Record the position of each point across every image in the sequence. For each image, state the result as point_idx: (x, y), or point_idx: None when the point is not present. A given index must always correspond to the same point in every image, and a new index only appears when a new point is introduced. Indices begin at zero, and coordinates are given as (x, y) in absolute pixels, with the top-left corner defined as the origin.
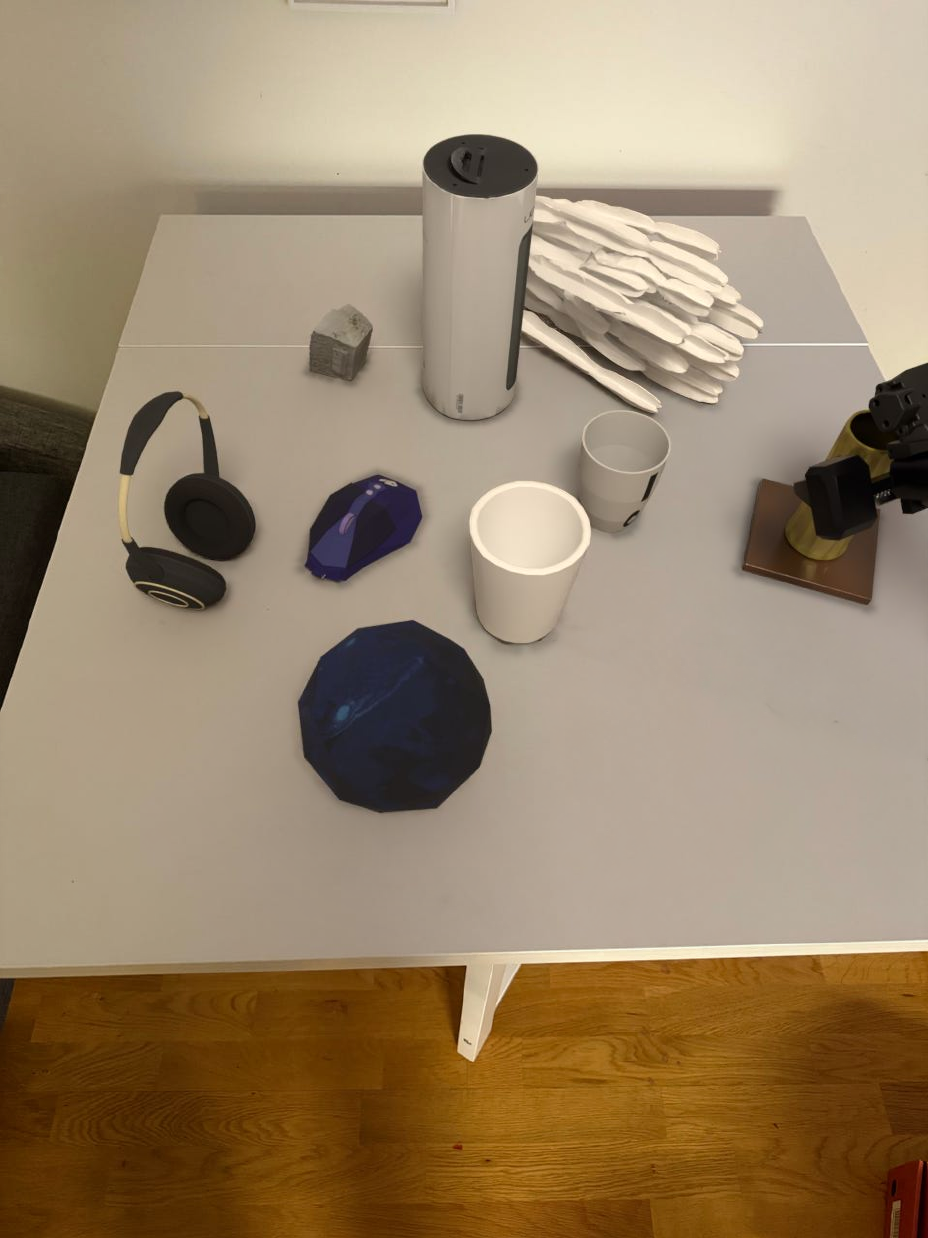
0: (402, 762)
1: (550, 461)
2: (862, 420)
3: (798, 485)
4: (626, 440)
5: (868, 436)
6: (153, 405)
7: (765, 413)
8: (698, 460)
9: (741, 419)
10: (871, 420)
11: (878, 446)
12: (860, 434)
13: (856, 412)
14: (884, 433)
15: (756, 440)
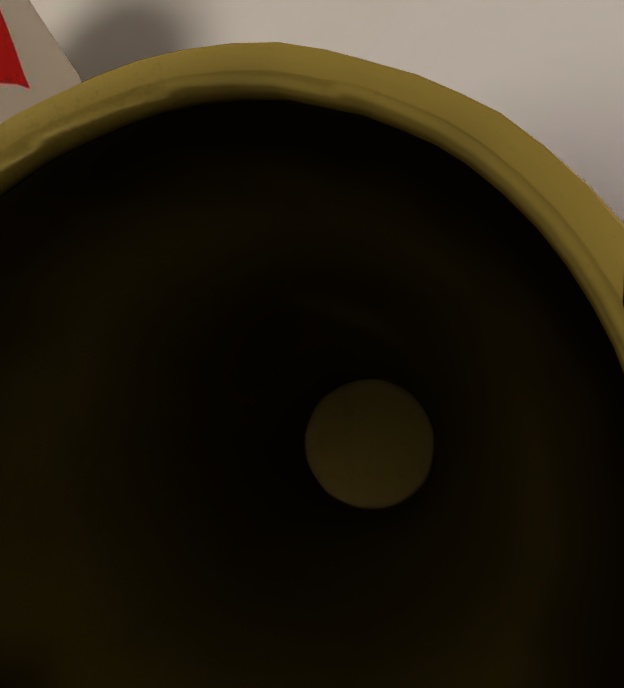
0: None
1: (67, 5)
2: (365, 191)
3: None
4: None
5: (466, 338)
6: None
7: (598, 32)
8: None
9: (516, 29)
10: (459, 236)
11: (501, 447)
12: (420, 289)
13: (172, 54)
14: (541, 431)
15: (500, 102)
